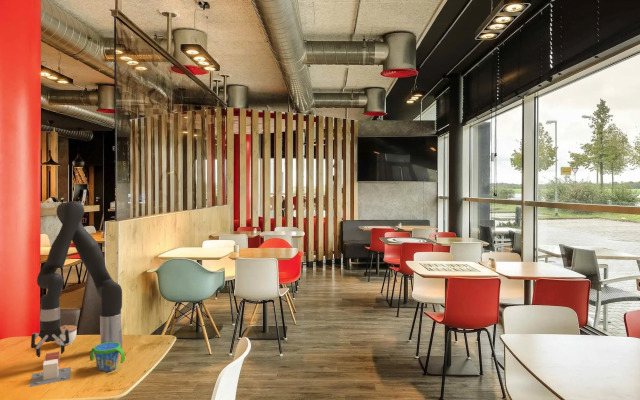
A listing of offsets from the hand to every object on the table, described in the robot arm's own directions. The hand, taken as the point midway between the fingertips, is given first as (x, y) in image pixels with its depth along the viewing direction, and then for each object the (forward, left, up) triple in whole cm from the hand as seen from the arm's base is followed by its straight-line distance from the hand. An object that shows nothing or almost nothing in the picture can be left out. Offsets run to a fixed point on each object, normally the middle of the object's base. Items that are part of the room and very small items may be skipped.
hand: (50, 355), depth 196 cm
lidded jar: (-5, -32, -6) cm, 32 cm away
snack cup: (-22, +14, -6) cm, 27 cm away
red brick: (-1, 0, -6) cm, 6 cm away
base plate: (-1, +13, -6) cm, 15 cm away
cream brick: (-1, +13, -5) cm, 14 cm away
